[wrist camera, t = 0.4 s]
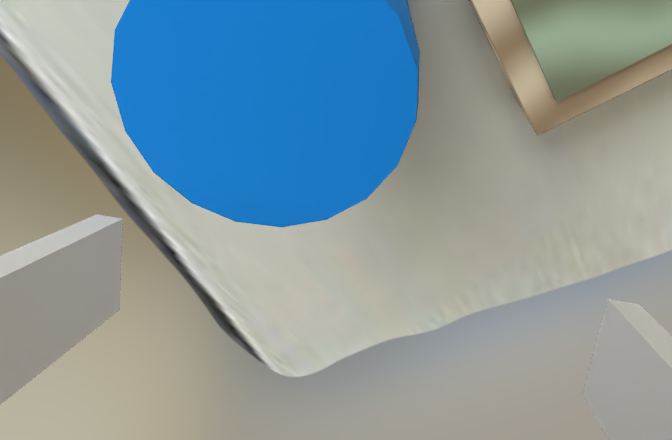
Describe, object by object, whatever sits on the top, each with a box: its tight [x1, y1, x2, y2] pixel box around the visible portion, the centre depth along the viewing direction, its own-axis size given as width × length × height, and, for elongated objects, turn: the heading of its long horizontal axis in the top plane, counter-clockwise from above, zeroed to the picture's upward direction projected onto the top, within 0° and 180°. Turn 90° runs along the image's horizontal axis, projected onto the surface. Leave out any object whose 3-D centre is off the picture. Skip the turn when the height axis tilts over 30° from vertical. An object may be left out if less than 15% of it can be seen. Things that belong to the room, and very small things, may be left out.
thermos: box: [111, 0, 420, 227], centre depth 30 cm, size 11×11×25 cm
